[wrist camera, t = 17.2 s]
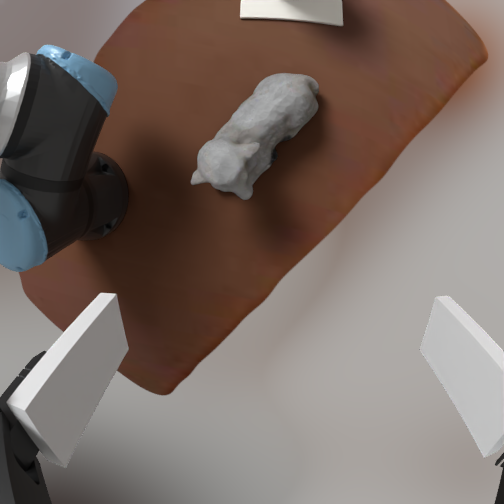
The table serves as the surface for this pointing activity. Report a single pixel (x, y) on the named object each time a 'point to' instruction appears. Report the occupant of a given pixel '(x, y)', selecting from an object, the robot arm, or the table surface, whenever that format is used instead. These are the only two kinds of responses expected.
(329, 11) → the tile
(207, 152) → the sculpture
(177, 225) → the table surface
